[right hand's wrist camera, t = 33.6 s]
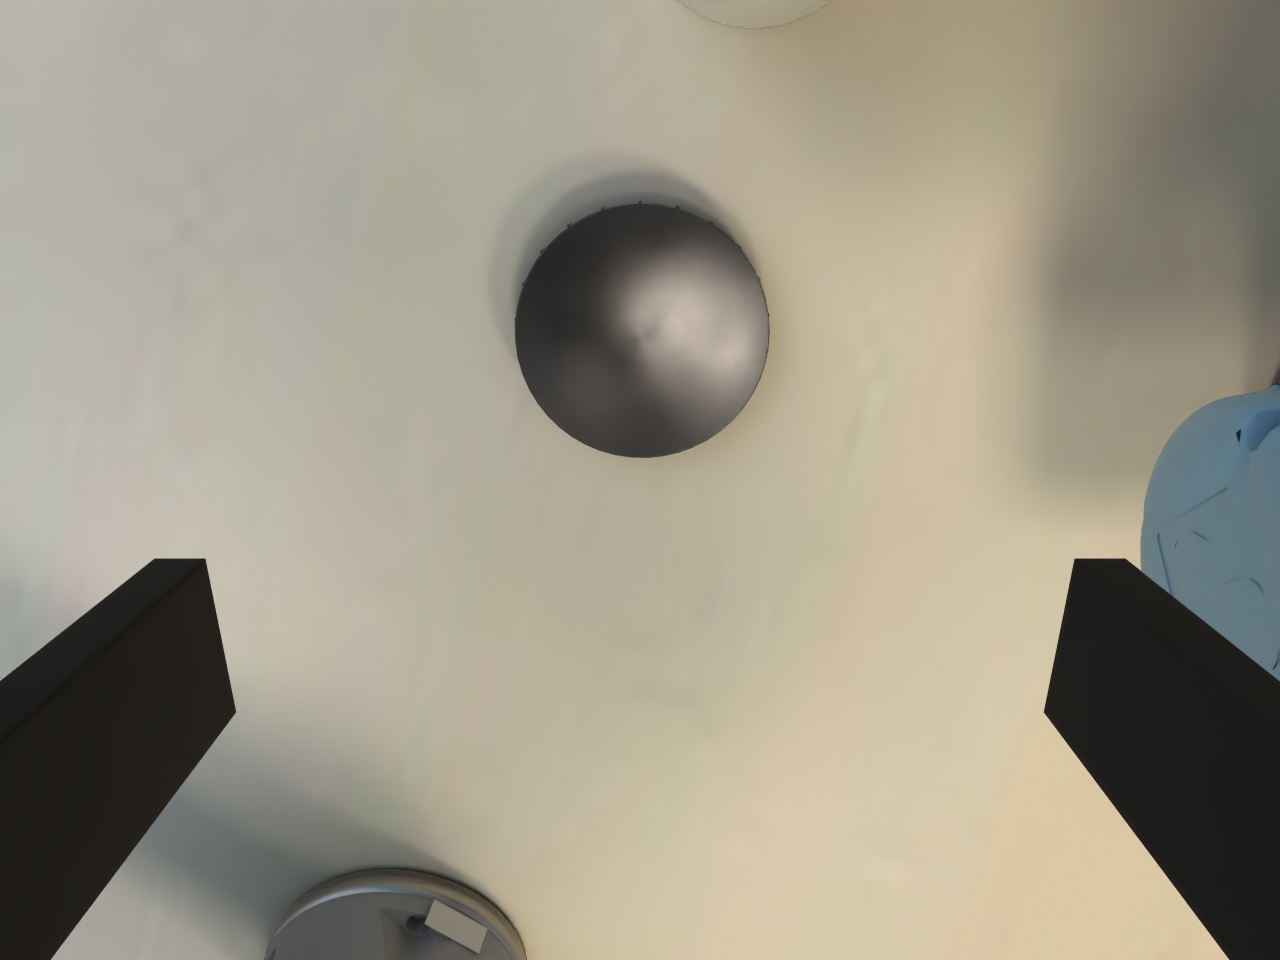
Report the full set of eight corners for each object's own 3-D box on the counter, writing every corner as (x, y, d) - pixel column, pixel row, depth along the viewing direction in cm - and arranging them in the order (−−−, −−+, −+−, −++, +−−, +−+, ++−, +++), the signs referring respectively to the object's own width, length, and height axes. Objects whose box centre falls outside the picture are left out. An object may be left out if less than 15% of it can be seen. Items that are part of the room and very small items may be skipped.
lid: (727, 165, 35) (731, 164, 33) (791, 409, 38) (797, 419, 37) (482, 246, 36) (475, 250, 34) (567, 476, 39) (564, 488, 38)
